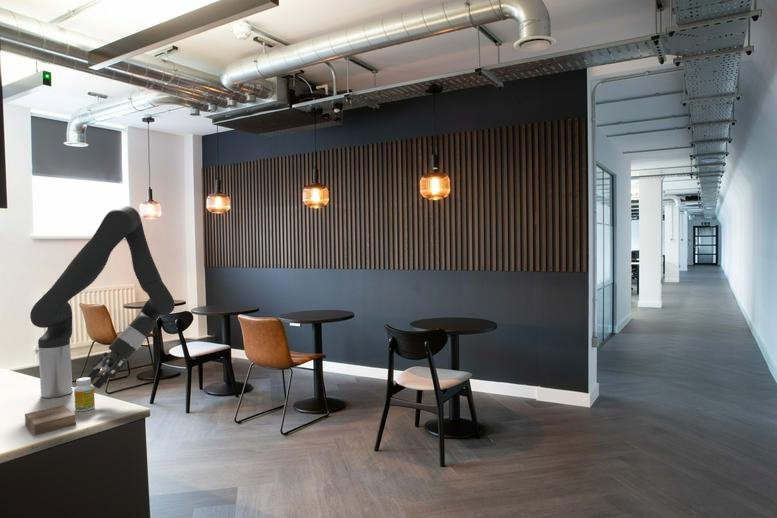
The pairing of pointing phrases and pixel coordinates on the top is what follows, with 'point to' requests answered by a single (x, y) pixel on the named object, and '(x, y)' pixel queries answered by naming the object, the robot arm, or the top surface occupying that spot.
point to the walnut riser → (50, 419)
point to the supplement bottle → (84, 394)
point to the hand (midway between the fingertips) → (91, 384)
